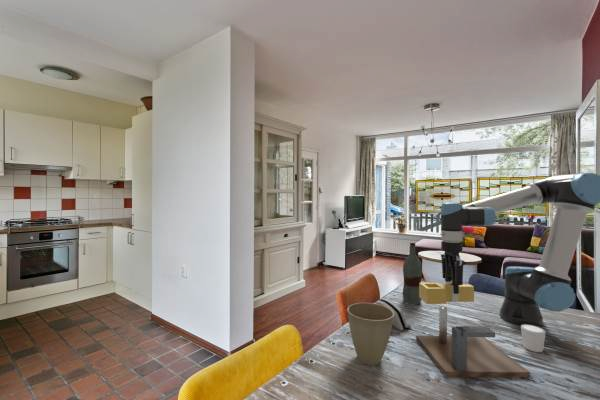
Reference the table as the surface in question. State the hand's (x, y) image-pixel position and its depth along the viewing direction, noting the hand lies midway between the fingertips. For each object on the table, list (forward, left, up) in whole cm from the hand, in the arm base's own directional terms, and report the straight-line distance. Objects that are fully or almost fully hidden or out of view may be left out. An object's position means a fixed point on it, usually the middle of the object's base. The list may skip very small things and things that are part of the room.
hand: (452, 299), depth 115 cm
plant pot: (+38, +21, -13) cm, 45 cm away
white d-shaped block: (+22, -8, -13) cm, 27 cm away
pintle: (+10, +13, -12) cm, 21 cm away
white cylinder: (-22, +13, -13) cm, 28 cm away
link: (+2, 0, 0) cm, 2 cm away
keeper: (+9, +28, -12) cm, 32 cm away
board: (+5, +19, -12) cm, 23 cm away
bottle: (+4, -31, -13) cm, 34 cm away
